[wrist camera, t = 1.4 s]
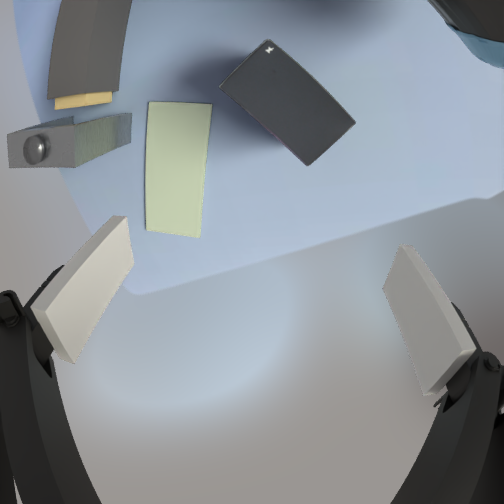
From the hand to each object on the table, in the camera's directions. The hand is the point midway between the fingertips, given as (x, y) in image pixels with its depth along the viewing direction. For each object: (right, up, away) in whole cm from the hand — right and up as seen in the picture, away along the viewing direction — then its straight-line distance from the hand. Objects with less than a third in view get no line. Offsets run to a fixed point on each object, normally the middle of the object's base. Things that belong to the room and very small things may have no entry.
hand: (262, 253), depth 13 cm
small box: (+3, +18, +16) cm, 24 cm away
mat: (-10, +10, +21) cm, 26 cm away
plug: (-19, +30, +10) cm, 37 cm away
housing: (-21, +17, +18) cm, 33 cm away
